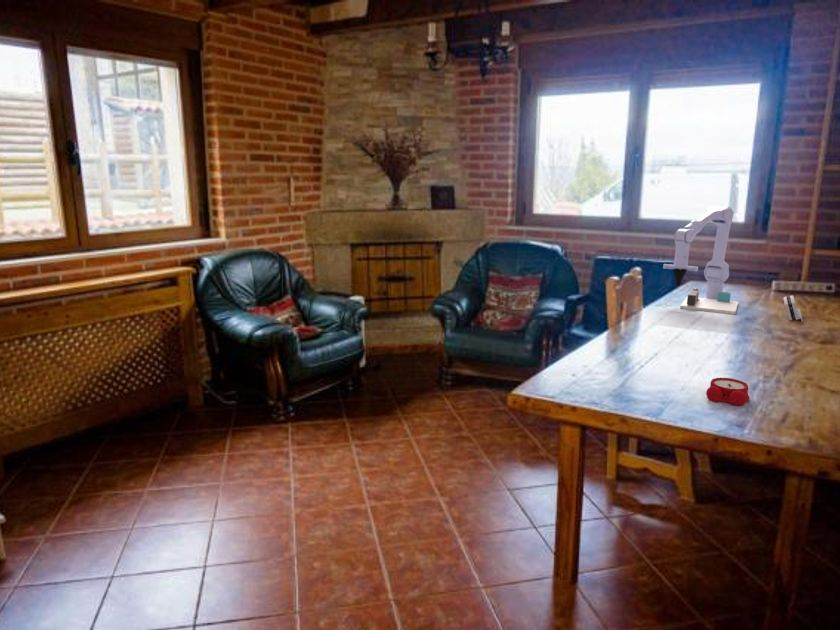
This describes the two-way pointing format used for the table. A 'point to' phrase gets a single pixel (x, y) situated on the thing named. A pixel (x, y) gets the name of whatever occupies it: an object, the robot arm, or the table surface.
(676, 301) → the table surface
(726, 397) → the alarm clock
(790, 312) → the hinge
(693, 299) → the folding leg
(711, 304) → the board
